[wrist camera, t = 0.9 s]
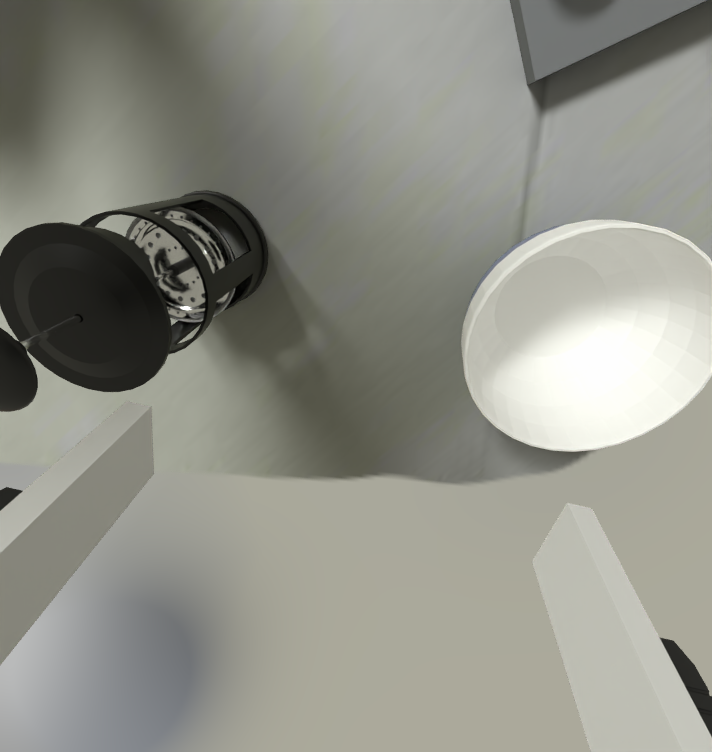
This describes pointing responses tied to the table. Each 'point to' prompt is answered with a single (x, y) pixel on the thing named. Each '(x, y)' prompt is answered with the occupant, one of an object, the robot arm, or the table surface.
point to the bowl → (589, 334)
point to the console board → (582, 28)
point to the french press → (119, 293)
